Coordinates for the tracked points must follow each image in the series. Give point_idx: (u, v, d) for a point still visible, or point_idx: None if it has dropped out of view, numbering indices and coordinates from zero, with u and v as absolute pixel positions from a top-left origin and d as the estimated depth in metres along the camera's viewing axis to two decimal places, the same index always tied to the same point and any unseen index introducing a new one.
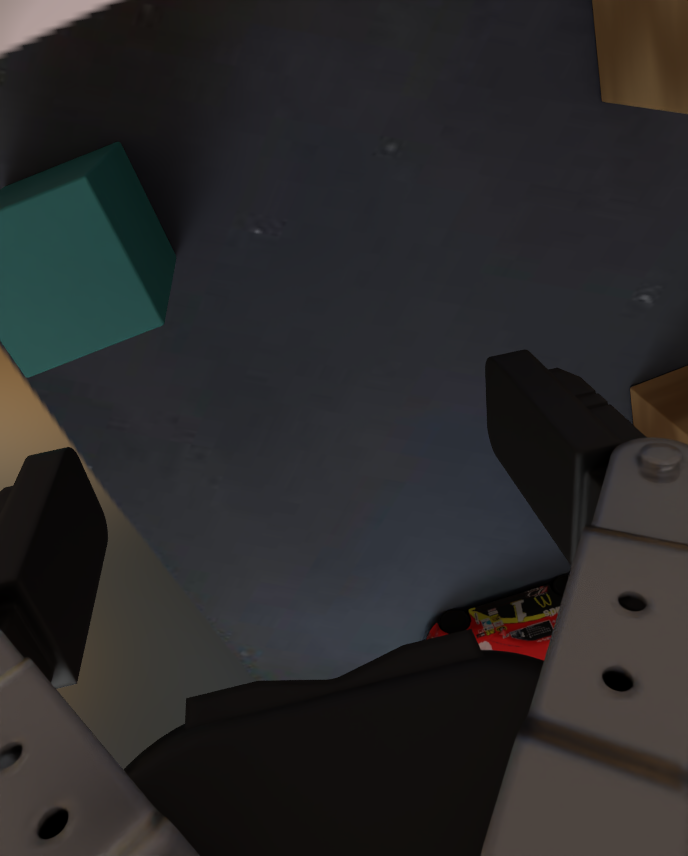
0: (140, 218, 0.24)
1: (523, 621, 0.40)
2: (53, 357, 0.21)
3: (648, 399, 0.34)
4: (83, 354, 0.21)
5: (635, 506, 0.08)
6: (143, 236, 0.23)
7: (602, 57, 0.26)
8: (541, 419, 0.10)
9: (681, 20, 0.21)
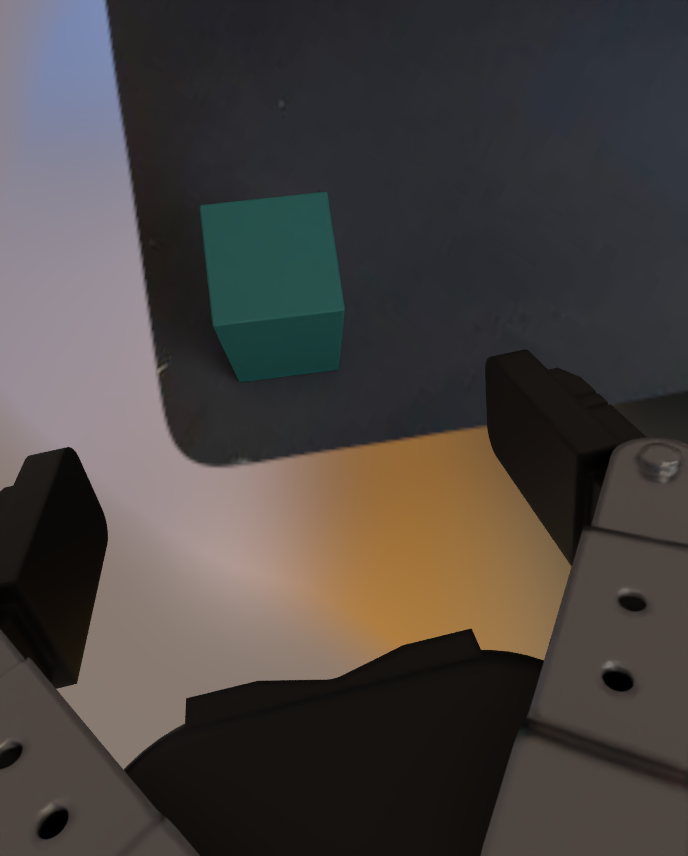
0: None
1: None
2: (331, 281, 0.24)
3: None
4: (335, 258, 0.25)
5: (636, 506, 0.08)
6: None
7: None
8: (541, 419, 0.10)
9: None
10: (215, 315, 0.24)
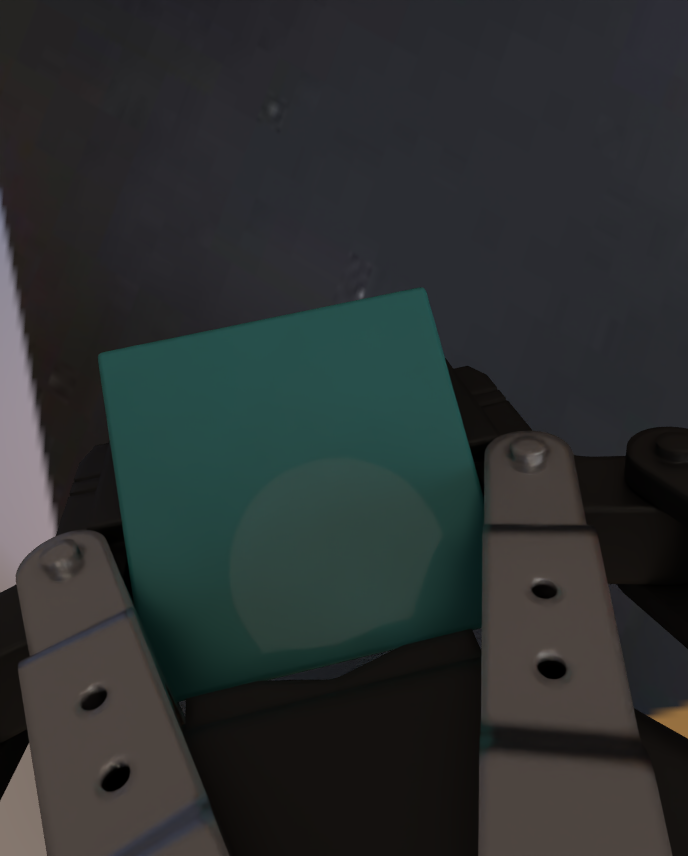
0: None
1: None
2: (470, 536, 0.09)
3: None
4: (471, 469, 0.09)
5: (518, 498, 0.08)
6: None
7: None
8: None
9: None
10: None
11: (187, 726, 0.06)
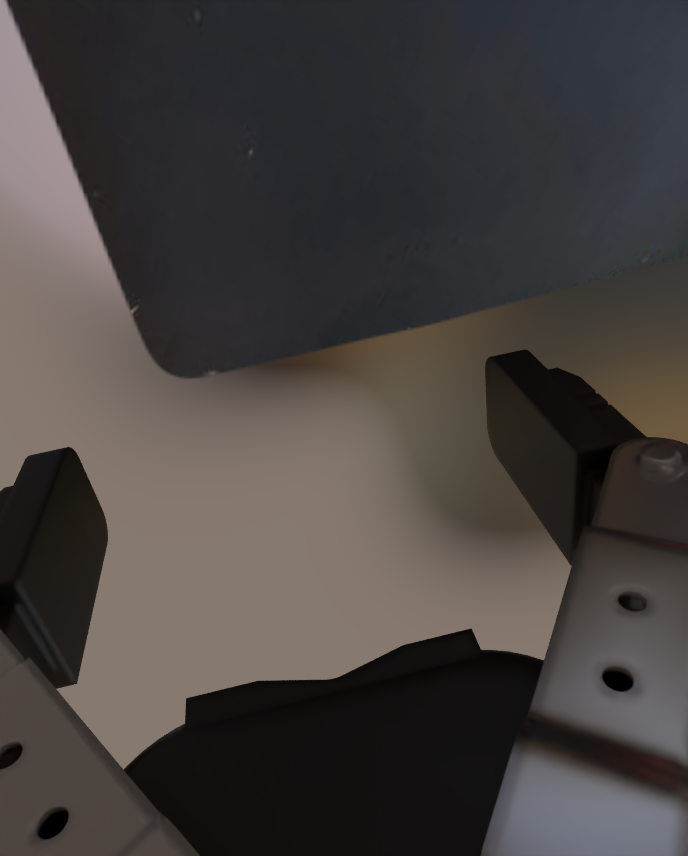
0: None
1: None
2: None
3: None
4: None
5: (635, 506, 0.08)
6: None
7: None
8: (541, 419, 0.10)
9: None
10: None
11: None
